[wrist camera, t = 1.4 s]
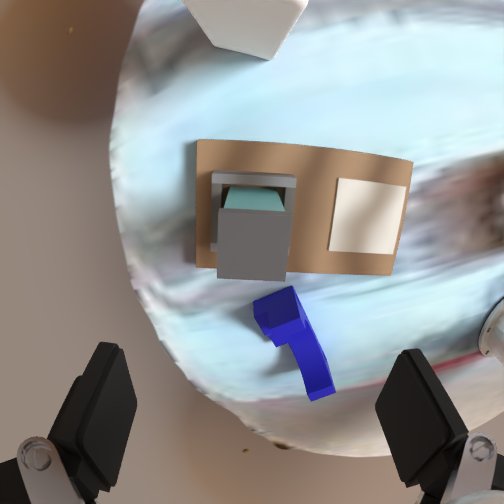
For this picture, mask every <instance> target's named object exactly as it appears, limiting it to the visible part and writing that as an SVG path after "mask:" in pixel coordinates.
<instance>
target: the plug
mask: <svg viewBox="0 0 504 504" xmlns="http://www.w3.org/2000/svg"><path fill="white" fill-rule="evenodd" d="M291 222H292V215H291V213H290V212H286V211H285V209H284V207H283V205H282V202H281V200H280V197H279V195H278V192H277V190H276V189H270V188H254V187H234V186H230V189H229V192H228V195H227V199H226V202H225V205H224V208H219V211H218V243H217V278H222V279H242V280H263V281H285V276H286V268H287V259H288V250H289V241H290V232H291Z"/></svg>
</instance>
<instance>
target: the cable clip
mask: <svg viewBox="0 0 504 504" xmlns="http://www.w3.org/2000/svg"><path fill="white" fill-rule="evenodd" d="M253 305H254V318H255V319H256V321H257V323H258V325H259V326H260V328H261V330H262V331H263V333H264V335H266V336H268V337H269V338H270V339H271V340H272V342H273V343H274V345H275V346H276V347H278V346H281V345H284V344H286V343H289V345H290V347H291V349H292V351H293V353H294V355H295V358H296V360H297V363H298V365H299V368H300V371H301V374H302V377H303V380H304V384H305V388H306V392H307V395H308V397H309V399H310V400H311V401H314V400H317V399H319V398H322V397H325V396H328V395H330V394H333V393H336V391H335V387H334V384H333V380H332V377H331V373H330V370H329V366H328V363H327V359H326V357H325V355H324V353H323V350H322V348H321V346H320V344H319V342H318V339H317V337H316V335H315V333H314V331H313V329H312V326H311V324H310V322H309V320H308V318H307V316H306V313H305V311H304V309H303V307H302V305H301V303H300V301H299V298H298V296H297V294H296V292H295V290H294V288H293V286H290V287H287V288H285V289H282V290H280V291H278V292H275V293H273V294H270V295H268V296H265V297H263V298H260V299H258V300H255V301H253Z"/></svg>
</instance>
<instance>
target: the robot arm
mask: <svg viewBox="0 0 504 504" xmlns="http://www.w3.org/2000/svg"><path fill="white" fill-rule="evenodd" d="M478 346H479V350H480V351H481V353H482V354H483V355H484V356H486V357H495V356H496V357H497V358H498V359H499V360H500V362H501V363H502V364H503V366H504V299H503V300H502V301H501V302H500V303H499V304H498V305H497V306H496V307H495V308H494V310H493V311H492V312H491V314H490V315H489V317H488V318H487V320H486V322H485V324H484V326H483V328H482V330H481V333H480V337H479V343H478ZM136 409H137V398H136V395H135V392H134V389H133V385H132V381H131V378H130V374H129V370H128V367H127V363H126V359H125V355H124V351H123V349H120V348H119V347H118V345H117V344H114V343H108V342H100V343H99V344H98V346H97V348H96V350H95V352H94V353H93V355H92V357H91V359H90V361H89V363H88V365H87V367H86V369H85V371H84V373H83V375H82V376H78V377H77V378H76V379H75V381H74V383H73V385H72V387H71V389H70V391H69V393H68V395H67V397H66V399H65V401H64V403H63V405H62V407H61V409H60V411H59V413H58V415H57V417H56V419H55V422H54V424H53V426H52V428H51V430H50V433H49V435H48V437H47V439H45V438H43V437H38V436H36V437H30V438H28V439H26V440H25V441H24V442H23V443H21V444H20V446H19V448H18V451H17V457H16V458H14V459H11V460H8V461H5V462H2V463H0V504H99V503H98V501H97V499H96V498H97V497H98V493H99V490H102V491H106V492H110V488H111V486H113V487H114V486H115V484H116V482H117V479H118V474H119V470H120V467H121V462H122V459H123V455H124V452H125V448H126V444H127V440H128V437H129V433H130V430H131V426H132V423H133V419H134V416H135V412H136ZM375 410H376V413H377V416H378V418H379V421H380V424H381V426H382V429H383V432H384V434H385V437H386V440H387V443H388V445H389V448H390V451H391V454H392V457H393V460H394V462H395V465H396V468H397V471H398V474H399V477H400V479H401V481H402V482H405V485H406V487H407V488H408V487H411V486H414V485H418V484H420V487H421V491H420V493H419V496H418V498H417V500H416V502H415V504H504V456H502V455H500V454H497V446H496V443H495V442H494V440H493V439H492V438H491V437H490V436H489V435H487V434H485V433H474V434H472V435H471V436H470V437H469V436H468V435H467V433H468V432H469V431H468V429H467V428H466V426H465V424H464V422H463V420H462V418H461V417H460V415H459V413H458V411H457V410H456V408H455V406H454V404H453V403H452V401H451V399H450V397H449V396H448V394H447V392H446V391H445V389H444V387H443V386H442V384H441V382H440V381H439V379H438V377H437V376H436V374H435V372H434V371H433V369H432V367H431V366H430V364H429V363H428V361H427V359H426V358H425V356H424V355H423V353H422V352H421V350H420V349H418V348H417V349H408V350H403V351H402V353H401V354H399V355H398V357H397V359H396V361H395V363H394V366H393V368H392V370H391V372H390V374H389V377H388V379H387V381H386V383H385V385H384V387H383V389H382V391H381V393H380V395H379V397H378V399H377V401H376V404H375Z"/></svg>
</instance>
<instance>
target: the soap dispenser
mask: <svg viewBox="0 0 504 504" xmlns="http://www.w3.org/2000/svg"><path fill="white" fill-rule="evenodd" d="M308 1H309V0H182V2H183V3H184V4H185V6H186V7H187V8H188V10H189V11H190V13H191V14H192V15H193V17H194V18H195V20H196V21H197V22H198V24H199V25H200V27H201V28H202V29H203V31H204V32H205V34H206V35H207V37H208V38H209V40H210V41H211V43H212V44H213V45H214V46H215V47H219V48H224V49H228V50H233V51H237V52H241V53H245V54H249V55H253V56H256V57H260V58H263V59H267V60H273V59H274V58H275V56H276V54H277V53H278V51H279V49H280V48H281V46H282V44H283V43H284V41H285V39H286V38H287V36H288V34H289V33H290V31H291V30H292V28H293V26H294V25H295V23H296V21H297V20H298V18H299V17H300V15H301V14H302V12H303V11H304V9H305V7H306V6H307V4H308Z"/></svg>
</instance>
